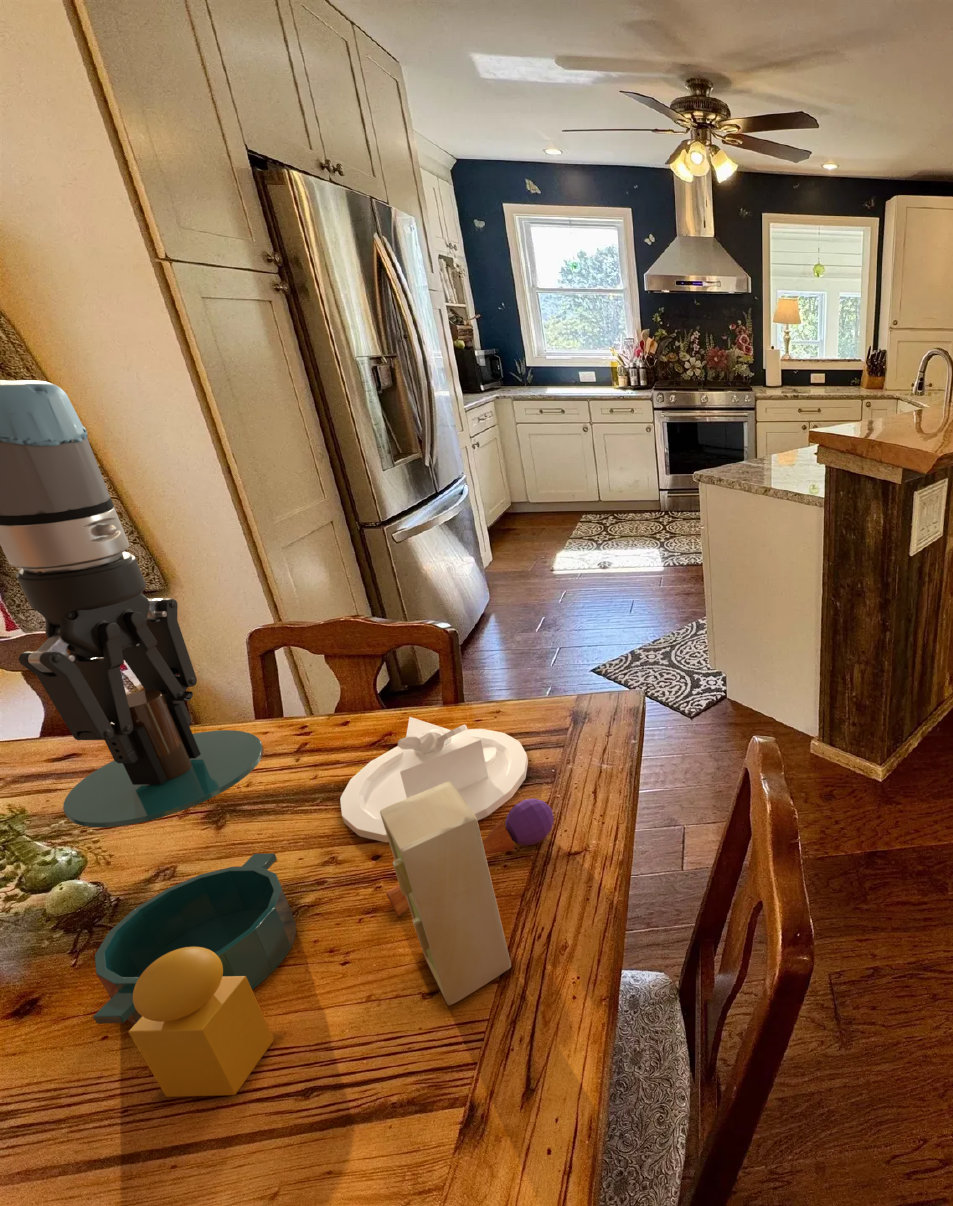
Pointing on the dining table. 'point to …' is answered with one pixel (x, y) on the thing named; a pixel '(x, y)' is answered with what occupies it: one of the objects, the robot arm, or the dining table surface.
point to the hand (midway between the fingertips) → (167, 768)
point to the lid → (188, 780)
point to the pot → (200, 931)
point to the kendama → (503, 837)
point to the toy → (197, 1024)
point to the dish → (435, 773)
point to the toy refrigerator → (447, 889)
